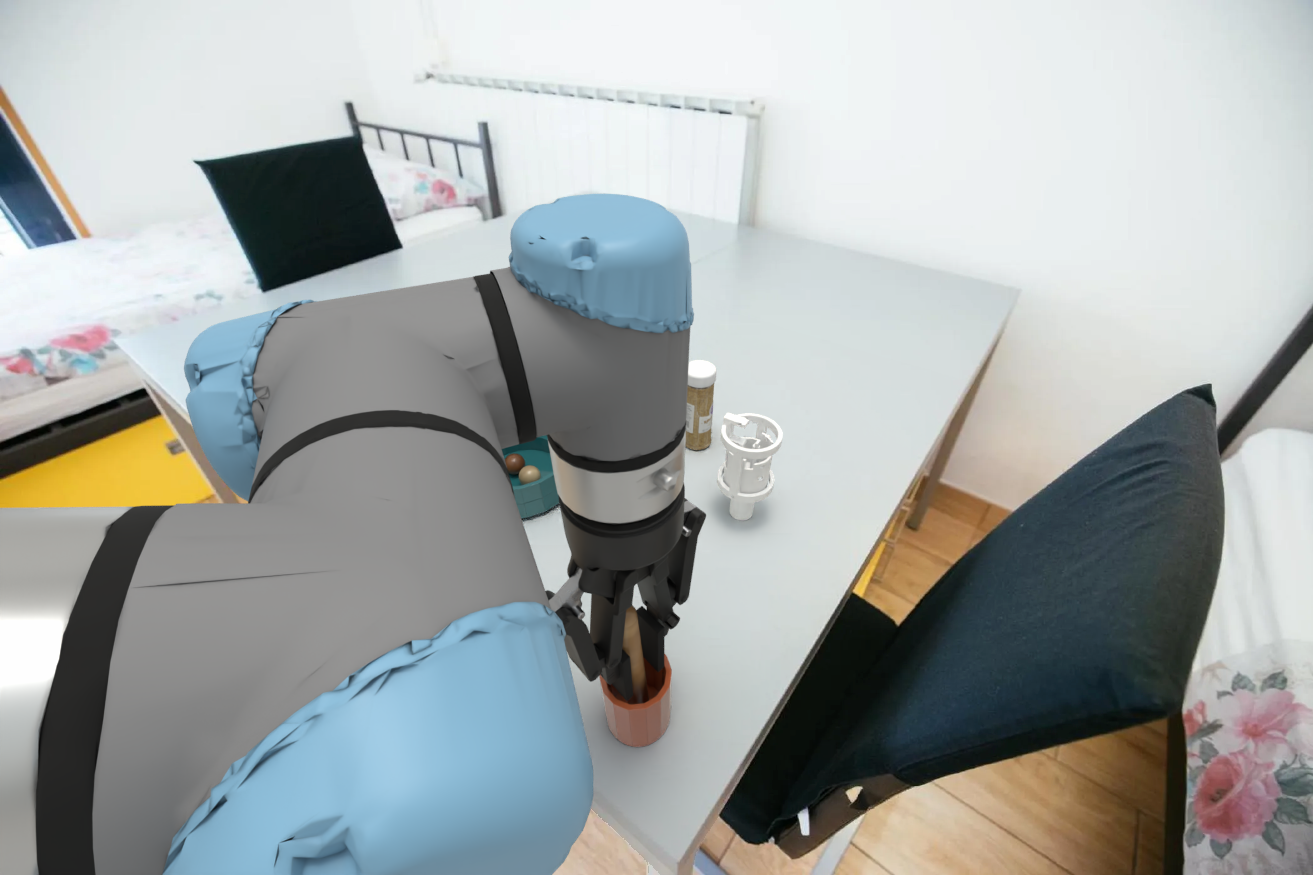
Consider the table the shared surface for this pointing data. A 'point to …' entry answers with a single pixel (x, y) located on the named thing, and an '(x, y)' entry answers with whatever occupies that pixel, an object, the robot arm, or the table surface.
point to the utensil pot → (640, 708)
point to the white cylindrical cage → (747, 463)
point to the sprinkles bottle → (699, 404)
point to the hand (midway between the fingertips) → (635, 671)
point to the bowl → (539, 492)
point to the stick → (635, 657)
